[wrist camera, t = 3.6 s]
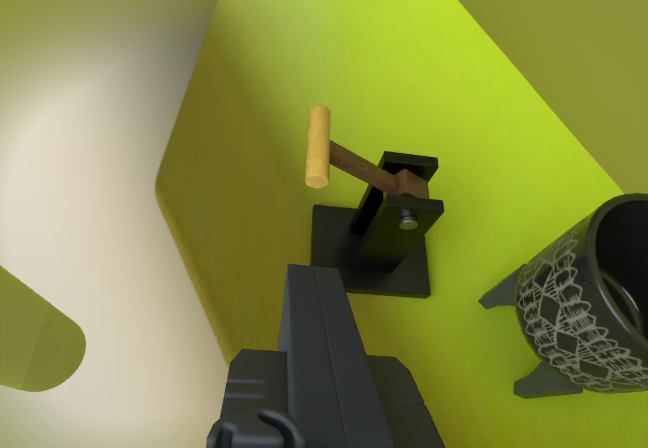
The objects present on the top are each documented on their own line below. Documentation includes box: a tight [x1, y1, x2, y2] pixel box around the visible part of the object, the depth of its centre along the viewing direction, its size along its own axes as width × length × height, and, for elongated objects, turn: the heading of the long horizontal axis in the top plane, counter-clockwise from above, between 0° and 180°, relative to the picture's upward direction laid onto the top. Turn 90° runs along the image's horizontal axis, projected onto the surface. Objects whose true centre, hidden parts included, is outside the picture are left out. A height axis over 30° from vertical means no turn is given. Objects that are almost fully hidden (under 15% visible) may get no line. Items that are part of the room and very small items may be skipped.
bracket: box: [310, 151, 444, 298], centre depth 38 cm, size 12×9×14 cm
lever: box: [305, 105, 429, 199], centre depth 32 cm, size 11×6×2 cm, turn 91°
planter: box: [479, 193, 648, 399], centre depth 35 cm, size 13×13×18 cm
